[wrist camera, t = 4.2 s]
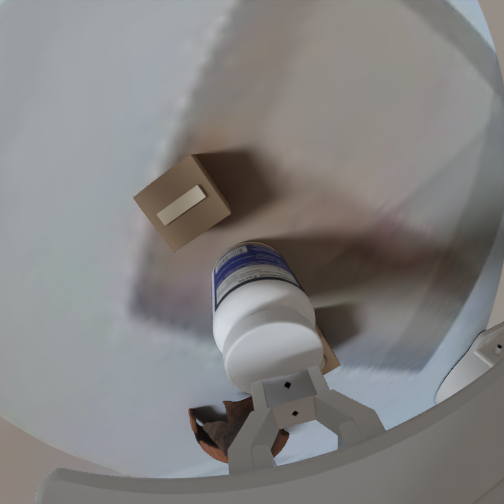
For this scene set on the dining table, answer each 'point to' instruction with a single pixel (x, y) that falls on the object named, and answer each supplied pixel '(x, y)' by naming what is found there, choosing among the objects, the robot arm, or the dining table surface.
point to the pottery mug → (229, 430)
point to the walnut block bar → (183, 202)
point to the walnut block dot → (327, 354)
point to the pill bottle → (261, 316)
